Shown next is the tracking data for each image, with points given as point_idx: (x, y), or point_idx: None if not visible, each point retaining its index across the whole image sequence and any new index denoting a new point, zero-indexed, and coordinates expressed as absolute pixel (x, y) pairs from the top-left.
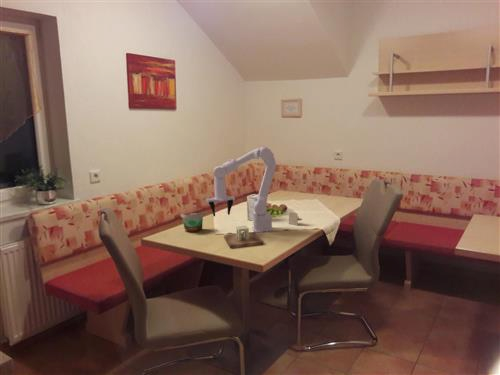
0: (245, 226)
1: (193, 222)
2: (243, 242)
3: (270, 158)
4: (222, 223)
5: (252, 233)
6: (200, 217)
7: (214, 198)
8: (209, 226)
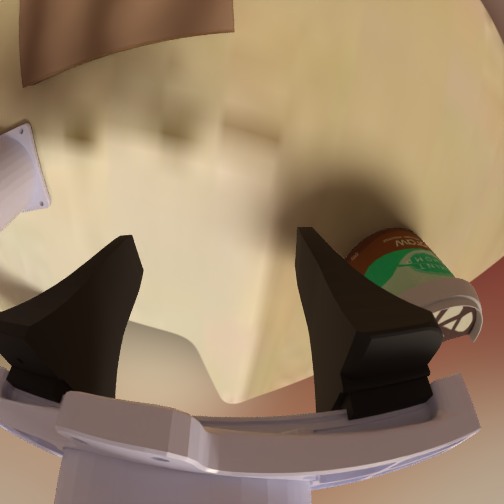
0: None
1: (429, 265)
2: None
3: None
4: (213, 324)
5: (35, 55)
6: None
7: (323, 483)
8: (289, 301)
